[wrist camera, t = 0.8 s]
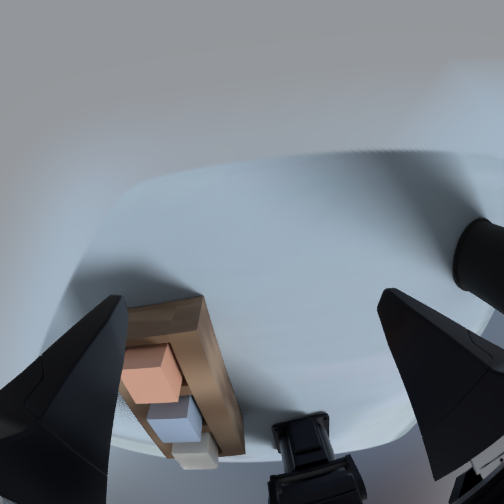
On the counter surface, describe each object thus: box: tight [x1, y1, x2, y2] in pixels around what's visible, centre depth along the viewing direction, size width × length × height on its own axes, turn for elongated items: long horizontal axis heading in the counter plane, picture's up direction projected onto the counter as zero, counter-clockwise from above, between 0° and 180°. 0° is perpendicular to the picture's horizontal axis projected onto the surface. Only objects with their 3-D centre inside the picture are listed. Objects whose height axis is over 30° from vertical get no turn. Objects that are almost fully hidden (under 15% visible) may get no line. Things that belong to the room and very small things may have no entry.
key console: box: [119, 296, 246, 459], centre depth 21 cm, size 15×8×5 cm, turn 10°
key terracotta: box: [121, 342, 183, 404], centre depth 17 cm, size 3×3×4 cm
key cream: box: [171, 432, 218, 470], centre depth 20 cm, size 3×3×4 cm
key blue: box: [146, 395, 203, 443], centre depth 19 cm, size 3×3×4 cm
